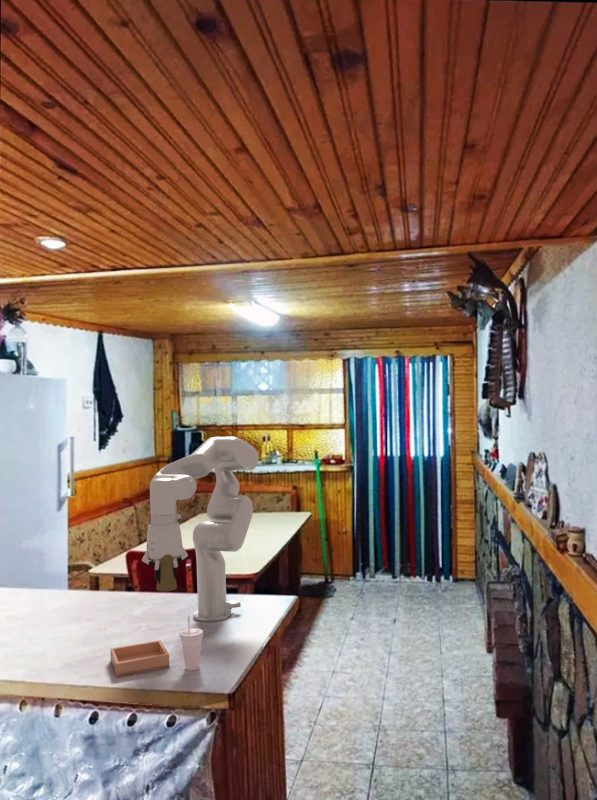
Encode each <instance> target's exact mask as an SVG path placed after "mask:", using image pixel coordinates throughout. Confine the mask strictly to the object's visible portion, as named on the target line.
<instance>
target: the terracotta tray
mask: <svg viewBox="0 0 597 800" xmlns="http://www.w3.org/2000/svg"><path fill="white" fill-rule="evenodd" d="M110 663H111V665H112V668H113V671H114V674H115V677H116V678H120V677H121V678H122V677H125V676H132V675H136V674H137V675H138V674H142V673H147V672H152V671H158V670H162V669H163V670H164V669H169V668H170V654H169V652H168V650H167V649H166V647H165V645H164V643H163V642H162V639H159V640H154V641H147V642H143V643H142V642H141V643H137V644H130V645H123V646H118V647H112V648H110Z"/></svg>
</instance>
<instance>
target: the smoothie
mask: <svg viewBox="0 0 597 800" xmlns="http://www.w3.org/2000/svg"><path fill="white" fill-rule="evenodd" d="M203 636H204V630H203V629H202V628H198V627H197V628H196V627H191V617H190V615H187V628H186V629H183V630H182V629H181V631H179V638H180V641H181V642H180V643H181V646H182V647H181V648H182V654H183V661H184V668H185V670H186V671H196V670H199V668H200V664H201V653H202V641H203Z"/></svg>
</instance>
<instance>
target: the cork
mask: <svg viewBox="0 0 597 800" xmlns="http://www.w3.org/2000/svg"><path fill="white" fill-rule="evenodd" d="M159 561H160V562H159V569H160V570H161V578H160V583H159V584H158V580H156V590H157V591H158V592H170V591H171V592H172V591H174V590H176V589H178V585H177V579H176V578H177V577H176V578H175V579H174V574H173V568H174V567H173V561H174V557H172V556H171V555H165V556H163V557H162V558H161V559H159Z"/></svg>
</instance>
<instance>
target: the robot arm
mask: <svg viewBox="0 0 597 800" xmlns="http://www.w3.org/2000/svg"><path fill="white" fill-rule="evenodd" d="M259 459H260V458H259V454H258V450H257V449H256V448H255V447H254V446H252V445H251V444H250V443H248V442H246V441H245V440H244V439H241V438H239V437H236V436H213V437H209V438H208V439H206V440H205V441H204V442H203V443H201V444H200V445H199V447H197V448H196V449H195V450H194V451H193V452H192V453H191V454H190V455H188V456H184V457H182V458H180V459H177V460H175V461H173V462H170V463H168V464H166V465H165V466H164V467H161V469H159V471H157V472H156V473H155V475H154V476H153V477H152V479H151V480H150V483H149V498H150V499H149V500H150V501H149V502H150V503H149V504H150V507H149V508H150V524H148V525H147V531H146V551H145V552H144V555H143V557H142V559H141V561H142V562H143V563H145V564H147V565H149V566H150V567H151V568H153V569H154V570H153V571H154V581H157V580H158V584H159V583H160V578H161V570H160V569H159V562H160V561H159V559H161V558H162V557H163V556H165V555H171V556H172V557H174V561H173V567H174V568H173V574H174V579H175V578H178V575H177V574H178V573H177V572H178V571H177V568H178V567H179V564H181V562H182V561H183V560H185V559H186V558H187V557H188V556H189V554H188V552H187V551H186V549H185V548H184V547H183V540H182V539H183V538H182V532H181V527H180V523H179V522H178V520H179V519H181V520H182V514H178V512H177V500H178V501H179V500H188V499H190V498H192V497H193V496H194V495H195V493H196V492H197V491H196V490H197V487H198V486H197V481H196V479H200V478H205V477H206V476H207V475H209V474H210V473H211V472H212V470H213V469H214V473H215V479H216V483H215V485H214V488H213V492H212V494H211V498H210V500H209V501H208V505H207V509H206V516H207V518H208V519H209V520H210V521H208V520H207V521H202V522H199V523H197V524H196V525H195V527H194V528H193V531H192V542H193V546H194V551H195V557H196V559H195V560H196V581H197V582H196V585H197V610H195V611H194V612H193V619H195V620H197V621H199V622H208V623H209V622H218V621H223V620H226V619H228V618H230V617H231V616H232V609H234V608H235V609H236V608H241V601H240V600H238V601H235V600H230V601H228V600H227V583H226V581H227V580H226V561H225V558H224V556H223V554H222V552H225V553H226V552H228V553H230V552H231V553H233V552H234V553H236V552H238V551H239V550H240V549H242V547H243V545H244V543H245V539H246V537H247V533H248V530H249V527H250V524H251V521H252V518H253V513H254V507H253V505H254V504H253V502H252V499H250V497H248V496H246V495H243V494H241V495H239V492H240V483H239V481H238V479H237V477H236V476H235V473H233V471H241V472H242V471H243V472H245V471H247V472H248V471H253V470H255V469H256V468H257V466H258V465H259Z"/></svg>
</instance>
